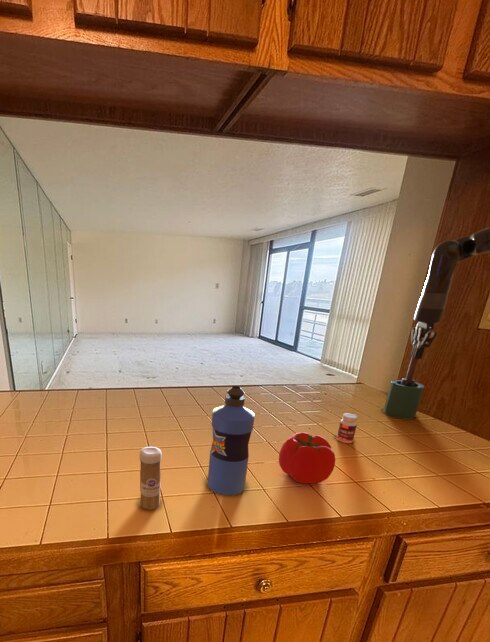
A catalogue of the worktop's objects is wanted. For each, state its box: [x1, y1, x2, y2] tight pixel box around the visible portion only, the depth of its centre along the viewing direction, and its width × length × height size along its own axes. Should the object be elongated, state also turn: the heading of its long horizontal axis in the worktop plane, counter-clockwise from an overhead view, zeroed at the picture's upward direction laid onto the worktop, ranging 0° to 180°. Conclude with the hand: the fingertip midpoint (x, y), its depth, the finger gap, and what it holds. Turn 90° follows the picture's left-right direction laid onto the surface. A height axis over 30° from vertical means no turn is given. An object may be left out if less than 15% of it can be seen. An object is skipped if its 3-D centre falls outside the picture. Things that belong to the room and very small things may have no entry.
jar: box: [382, 379, 426, 420], centre depth 129 cm, size 10×10×12 cm
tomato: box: [278, 431, 336, 485], centre depth 87 cm, size 14×13×10 cm
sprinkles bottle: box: [139, 446, 162, 511], centre depth 74 cm, size 5×5×14 cm
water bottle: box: [207, 385, 256, 496], centre depth 80 cm, size 9×9×25 cm
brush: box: [401, 343, 420, 387], centre depth 124 cm, size 4×4×18 cm
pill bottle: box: [336, 412, 359, 444], centre depth 108 cm, size 5×5×8 cm
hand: (415, 357), depth 123 cm, fingers closed on brush, 2 cm apart
